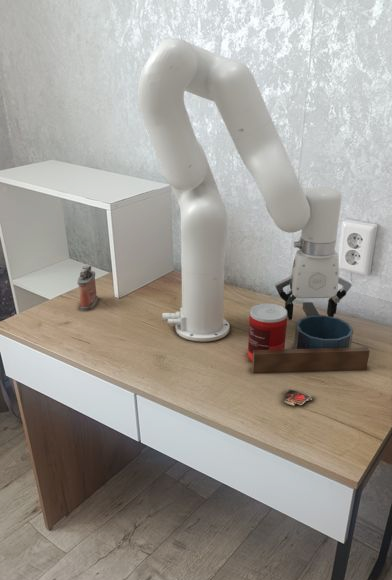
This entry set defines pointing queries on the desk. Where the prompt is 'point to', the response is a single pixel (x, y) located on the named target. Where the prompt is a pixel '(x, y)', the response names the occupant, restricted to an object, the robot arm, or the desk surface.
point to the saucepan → (321, 331)
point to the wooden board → (310, 359)
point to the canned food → (266, 328)
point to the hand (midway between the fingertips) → (309, 317)
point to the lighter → (87, 288)
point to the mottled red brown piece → (296, 397)
